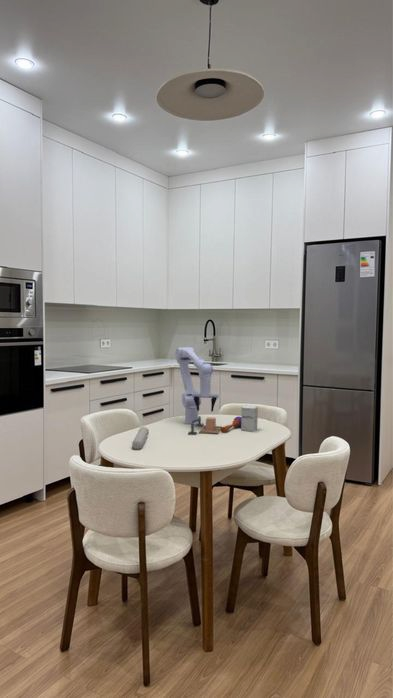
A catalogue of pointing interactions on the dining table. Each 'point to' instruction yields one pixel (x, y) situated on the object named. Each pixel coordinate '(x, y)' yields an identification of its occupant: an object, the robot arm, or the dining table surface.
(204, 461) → the dining table surface
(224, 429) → the kendama
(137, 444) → the tube
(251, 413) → the supplement box
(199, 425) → the grey door handle
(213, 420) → the block
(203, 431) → the walnut board
